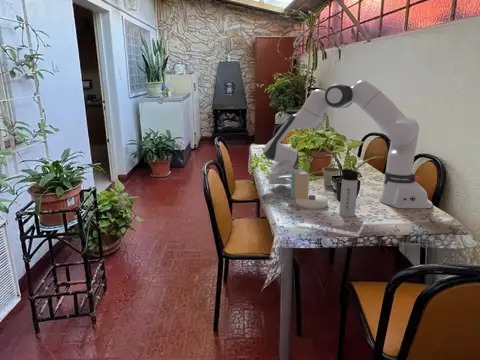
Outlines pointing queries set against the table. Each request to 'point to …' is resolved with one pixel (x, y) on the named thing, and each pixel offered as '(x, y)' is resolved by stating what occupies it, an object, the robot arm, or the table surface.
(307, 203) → the white base with panel
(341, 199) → the travel mug
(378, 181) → the table surface
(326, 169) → the flower pot
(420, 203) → the robot arm
